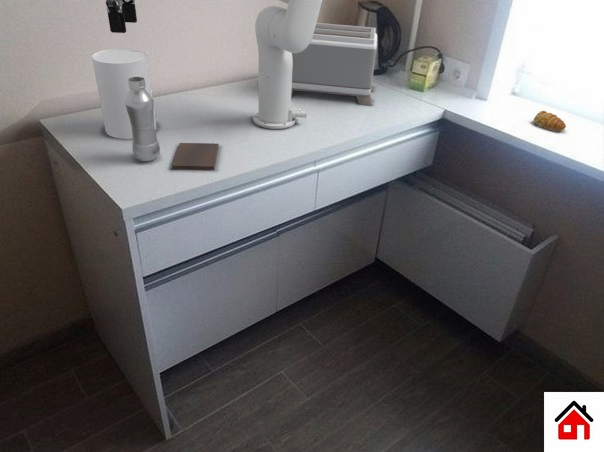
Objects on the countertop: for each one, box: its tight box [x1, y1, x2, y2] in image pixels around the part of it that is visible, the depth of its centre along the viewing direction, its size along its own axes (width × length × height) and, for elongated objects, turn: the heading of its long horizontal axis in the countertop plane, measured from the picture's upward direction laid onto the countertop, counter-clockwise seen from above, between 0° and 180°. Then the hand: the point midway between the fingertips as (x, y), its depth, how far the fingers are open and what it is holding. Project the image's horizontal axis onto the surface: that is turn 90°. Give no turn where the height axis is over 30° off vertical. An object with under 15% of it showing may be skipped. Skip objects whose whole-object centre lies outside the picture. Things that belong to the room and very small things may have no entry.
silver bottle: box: [125, 77, 161, 162], centre depth 118 cm, size 6×7×20 cm
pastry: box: [533, 110, 567, 132], centre depth 154 cm, size 9×7×4 cm
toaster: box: [291, 22, 378, 106], centre depth 166 cm, size 19×34×20 cm, turn 82°
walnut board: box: [171, 142, 220, 171], centre depth 125 cm, size 10×13×1 cm
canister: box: [91, 47, 157, 140], centre depth 132 cm, size 14×14×20 cm
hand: (124, 27), depth 110 cm, fingers open, 9 cm apart
